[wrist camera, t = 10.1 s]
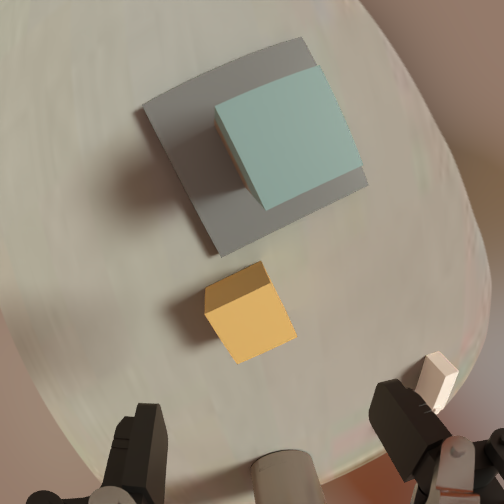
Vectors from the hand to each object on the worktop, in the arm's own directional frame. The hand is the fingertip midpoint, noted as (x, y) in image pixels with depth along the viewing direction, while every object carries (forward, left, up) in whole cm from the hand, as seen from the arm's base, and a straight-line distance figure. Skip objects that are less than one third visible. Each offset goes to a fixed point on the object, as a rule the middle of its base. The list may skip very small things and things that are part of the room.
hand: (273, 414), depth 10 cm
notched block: (-29, -13, -19) cm, 37 cm away
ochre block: (-4, +1, -18) cm, 19 cm away
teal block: (+8, -6, -12) cm, 15 cm away
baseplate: (+8, -6, -18) cm, 21 cm away
